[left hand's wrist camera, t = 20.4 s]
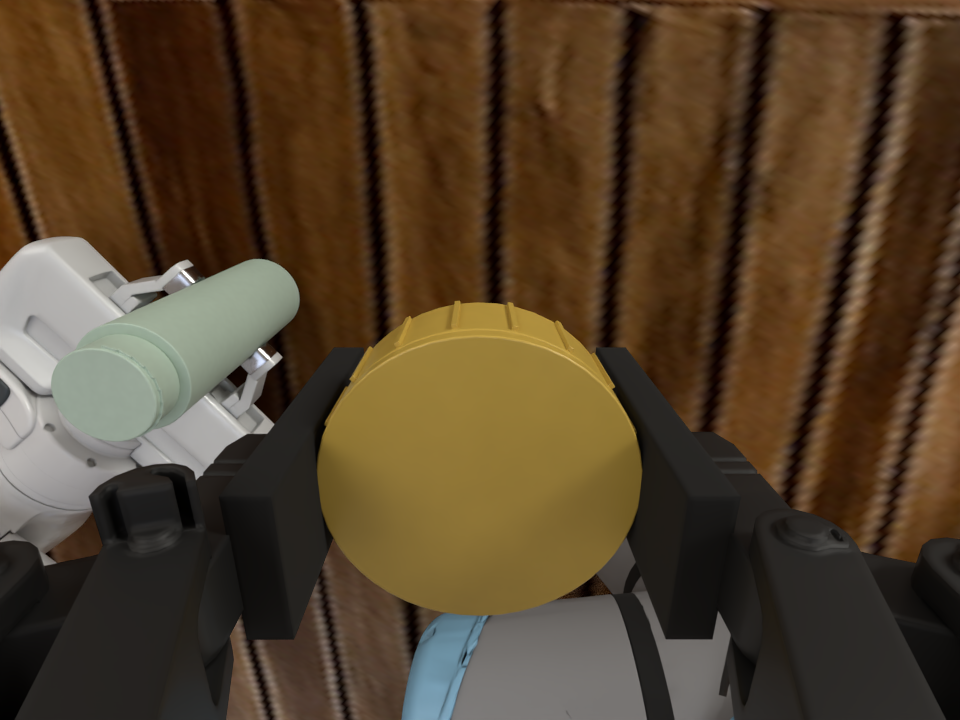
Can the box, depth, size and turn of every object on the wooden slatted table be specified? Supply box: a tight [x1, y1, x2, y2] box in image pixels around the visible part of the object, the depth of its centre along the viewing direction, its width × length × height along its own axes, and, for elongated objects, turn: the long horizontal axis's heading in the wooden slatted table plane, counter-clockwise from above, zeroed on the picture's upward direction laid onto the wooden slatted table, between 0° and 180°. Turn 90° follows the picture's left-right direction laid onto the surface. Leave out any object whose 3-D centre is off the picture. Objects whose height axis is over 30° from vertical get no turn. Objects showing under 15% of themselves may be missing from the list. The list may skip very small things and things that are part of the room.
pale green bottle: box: [51, 259, 299, 442], centre depth 32 cm, size 6×6×18 cm
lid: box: [317, 301, 642, 616], centre depth 11 cm, size 6×6×2 cm
